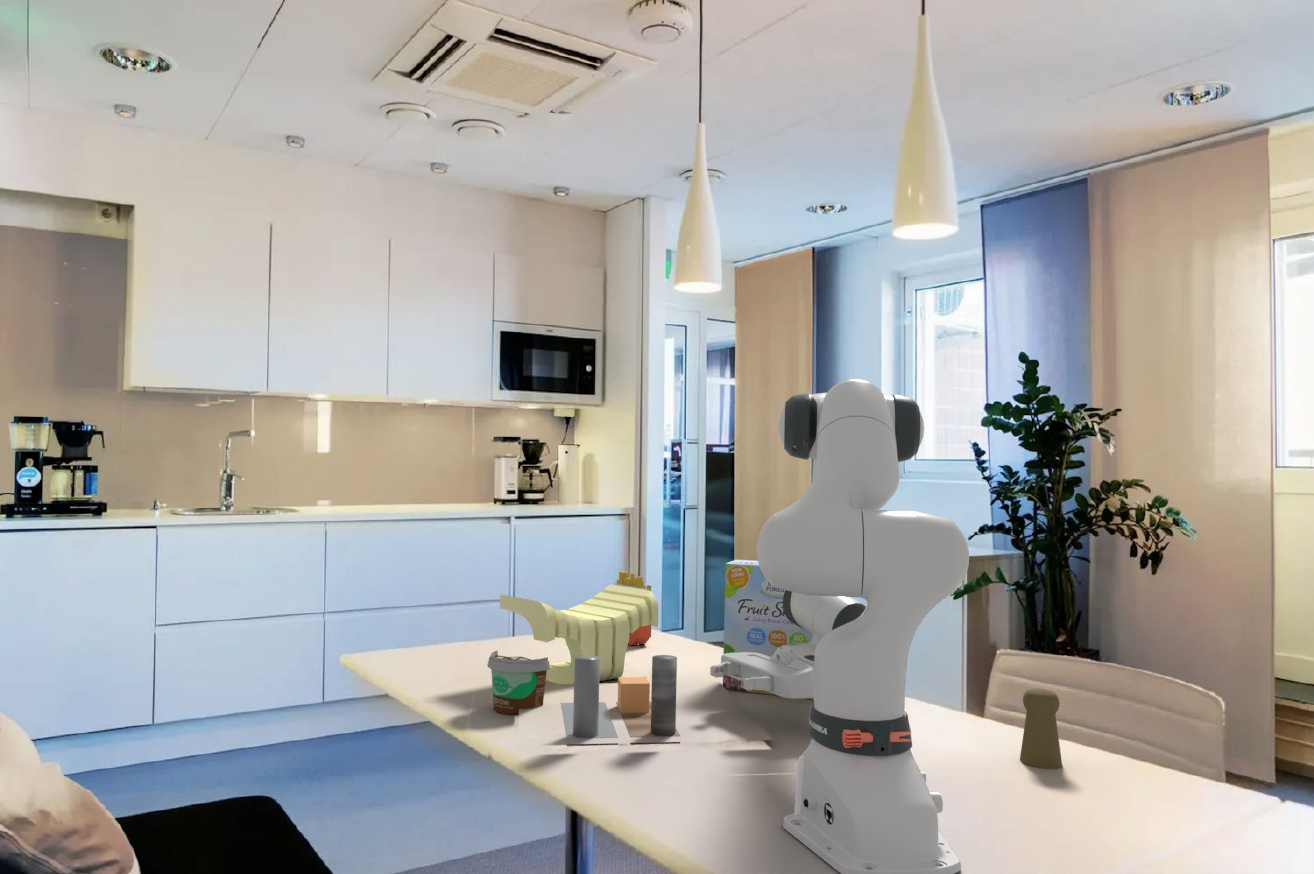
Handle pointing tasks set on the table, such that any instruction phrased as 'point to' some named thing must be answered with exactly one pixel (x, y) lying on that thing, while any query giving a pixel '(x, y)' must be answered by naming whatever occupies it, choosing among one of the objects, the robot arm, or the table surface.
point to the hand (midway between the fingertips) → (727, 677)
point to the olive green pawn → (1041, 730)
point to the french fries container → (642, 632)
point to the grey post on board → (657, 704)
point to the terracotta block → (633, 694)
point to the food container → (517, 683)
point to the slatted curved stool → (590, 627)
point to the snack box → (755, 616)
